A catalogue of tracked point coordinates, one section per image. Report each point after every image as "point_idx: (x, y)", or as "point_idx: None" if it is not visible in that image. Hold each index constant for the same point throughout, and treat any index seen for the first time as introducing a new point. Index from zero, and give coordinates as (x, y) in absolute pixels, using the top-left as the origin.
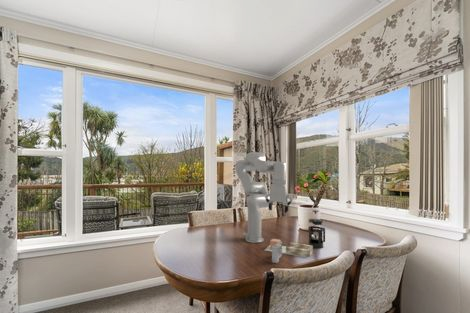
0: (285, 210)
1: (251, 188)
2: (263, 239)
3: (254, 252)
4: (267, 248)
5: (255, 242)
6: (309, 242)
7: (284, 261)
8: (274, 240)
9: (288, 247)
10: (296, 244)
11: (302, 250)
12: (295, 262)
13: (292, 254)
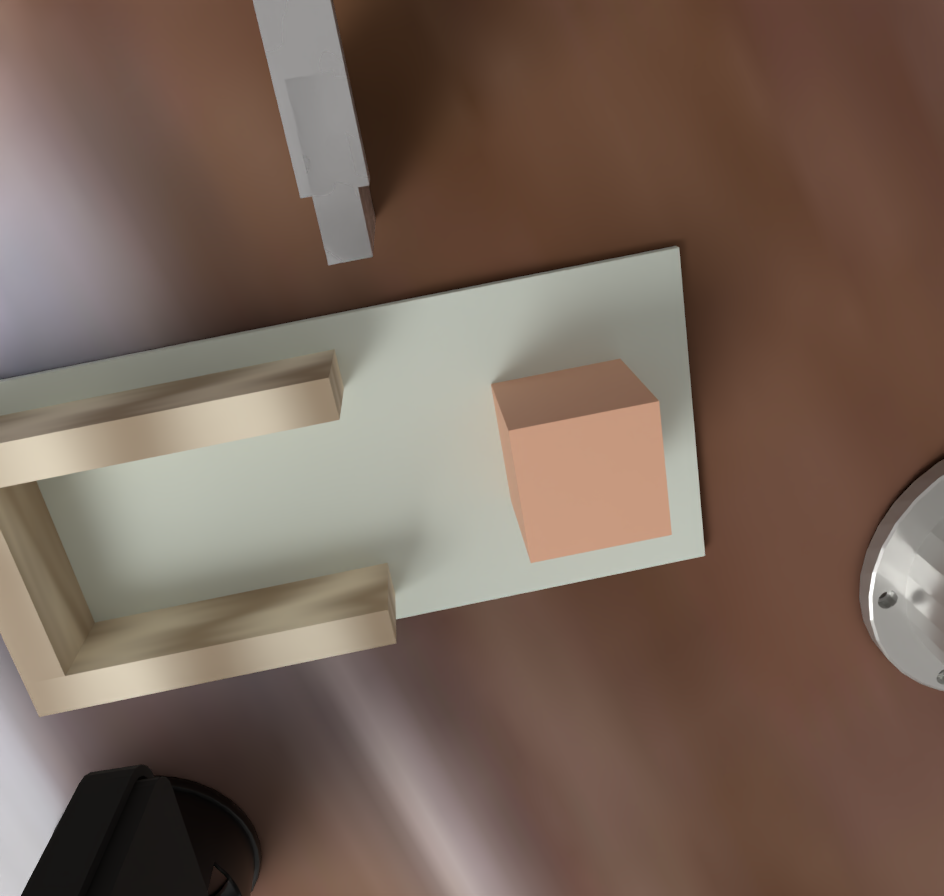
0: (68, 867)
1: None
2: (873, 626)
3: (780, 66)
4: (667, 349)
5: (939, 465)
6: (198, 844)
7: (183, 14)
8: (602, 461)
9: (286, 389)
10: (278, 627)
11: (47, 431)
12: (27, 96)
13: (228, 363)
